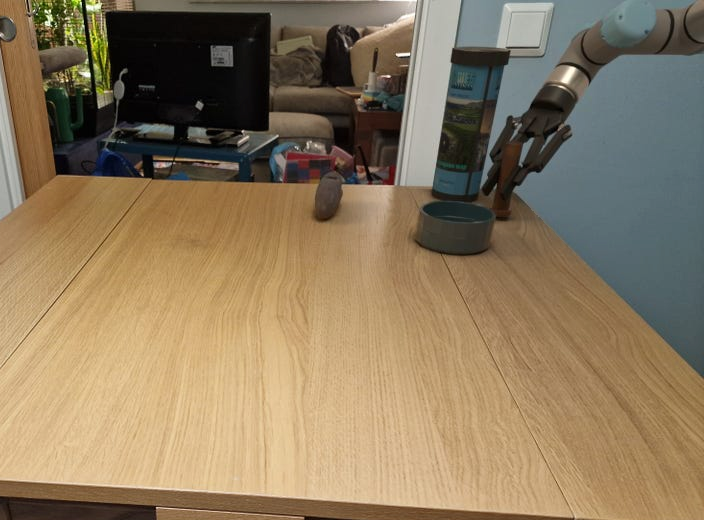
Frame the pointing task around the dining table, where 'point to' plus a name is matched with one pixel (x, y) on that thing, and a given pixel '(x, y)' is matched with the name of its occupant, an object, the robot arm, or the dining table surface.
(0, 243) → the dining table surface
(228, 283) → the dining table surface
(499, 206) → the muddler
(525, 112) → the robot arm
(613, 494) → the dining table surface
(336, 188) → the perforated stone tool
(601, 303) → the dining table surface
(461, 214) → the bowl
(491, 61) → the advertising column
